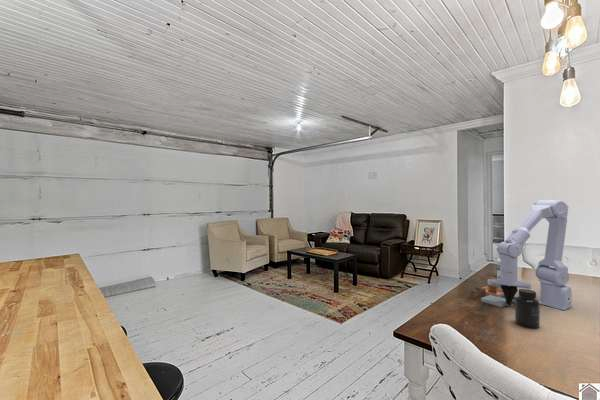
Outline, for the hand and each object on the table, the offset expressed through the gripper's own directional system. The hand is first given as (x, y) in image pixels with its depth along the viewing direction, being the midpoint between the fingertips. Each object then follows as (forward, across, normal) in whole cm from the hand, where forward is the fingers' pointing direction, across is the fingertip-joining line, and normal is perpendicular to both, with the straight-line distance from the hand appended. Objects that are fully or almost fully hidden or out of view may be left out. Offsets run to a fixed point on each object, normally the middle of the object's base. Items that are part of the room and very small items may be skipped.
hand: (508, 303), depth 118 cm
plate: (+2, +4, -3) cm, 5 cm away
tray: (+1, +3, -15) cm, 15 cm away
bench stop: (+1, +10, -7) cm, 12 cm away
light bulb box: (+1, -8, -44) cm, 45 cm away
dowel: (0, +3, -15) cm, 15 cm away
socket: (+1, -2, -8) cm, 9 cm away
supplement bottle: (+1, -2, +17) cm, 18 cm away
